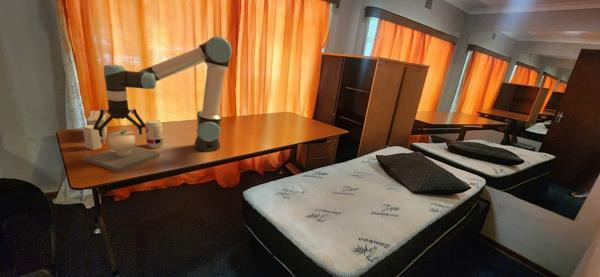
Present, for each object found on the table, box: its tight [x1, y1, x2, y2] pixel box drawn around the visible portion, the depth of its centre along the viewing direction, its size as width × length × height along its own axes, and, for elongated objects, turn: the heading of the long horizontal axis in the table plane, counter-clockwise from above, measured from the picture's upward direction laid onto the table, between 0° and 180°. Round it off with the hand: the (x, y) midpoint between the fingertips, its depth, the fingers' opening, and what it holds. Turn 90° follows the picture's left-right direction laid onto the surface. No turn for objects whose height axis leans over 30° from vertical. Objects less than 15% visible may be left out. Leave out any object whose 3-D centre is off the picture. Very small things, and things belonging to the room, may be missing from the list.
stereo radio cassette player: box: [86, 106, 108, 141], centre depth 140 cm, size 21×8×20 cm, turn 35°
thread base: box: [83, 145, 161, 173], centre depth 120 cm, size 22×22×7 cm
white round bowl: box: [106, 129, 137, 150], centre depth 118 cm, size 11×11×7 cm
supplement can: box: [144, 119, 164, 149], centre depth 137 cm, size 8×8×15 cm
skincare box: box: [82, 124, 102, 151], centre depth 126 cm, size 6×4×12 cm
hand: (122, 141), depth 118 cm, fingers open, 13 cm apart
